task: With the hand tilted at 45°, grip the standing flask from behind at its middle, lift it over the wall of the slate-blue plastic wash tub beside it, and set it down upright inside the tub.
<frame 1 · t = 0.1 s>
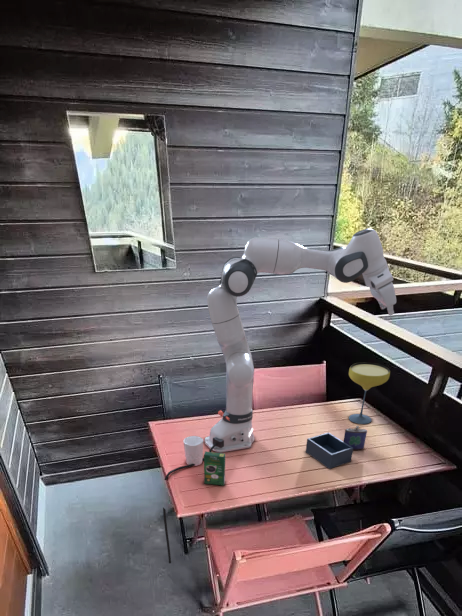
hand: (387, 311, 167), 54 cm above the table, tool tilted 30°, fingers open, 8 cm apart
tub: (327, 456, 186), on the table
flask: (352, 448, 192), on the table
coffee box: (215, 483, 170), on the table
white cup: (194, 462, 182), on the table
cocktail glass: (360, 419, 215), on the table
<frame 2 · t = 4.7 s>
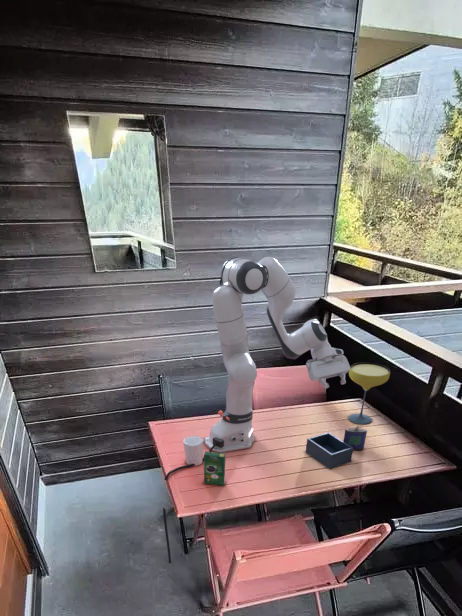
hand: (335, 385, 190), 23 cm above the table, tool tilted 45°, fingers open, 8 cm apart
nothing on the table moved.
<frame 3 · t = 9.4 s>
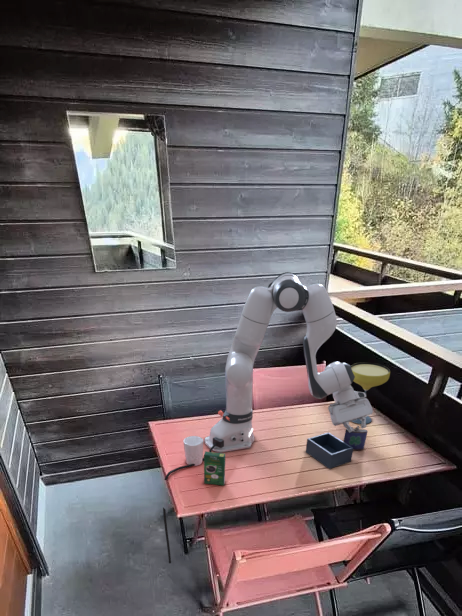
hand: (358, 429, 186), 9 cm above the table, tool tilted 45°, fingers closed on flask, 6 cm apart
flask: (352, 448, 192), on the table, touching gripper
everything else where it was.
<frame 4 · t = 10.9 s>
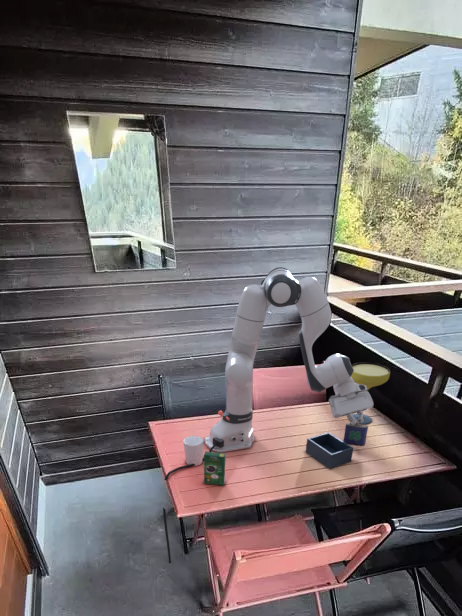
hand: (358, 422, 184), 13 cm above the table, tool tilted 45°, fingers closed on flask, 2 cm apart
flask: (353, 444, 191), point 2 cm above the table, touching gripper
everything else where it was.
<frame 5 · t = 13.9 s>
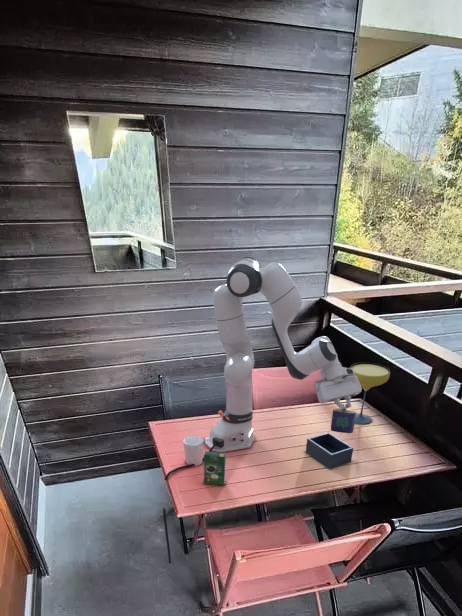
hand: (345, 408, 176), 21 cm above the table, tool tilted 45°, fingers closed on flask
flask: (341, 431, 182), point 10 cm above the table, touching gripper
everything else where it was.
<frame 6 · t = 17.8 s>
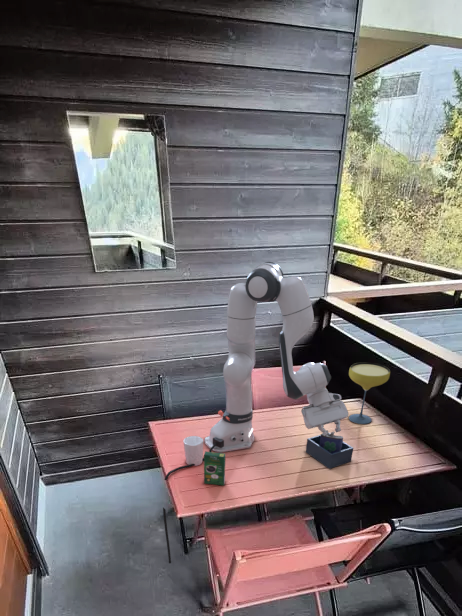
hand: (332, 433, 179), 11 cm above the table, tool tilted 45°, fingers open, 5 cm apart
flask: (329, 455, 186), point 1 cm above the table, touching tub
everything else where it was.
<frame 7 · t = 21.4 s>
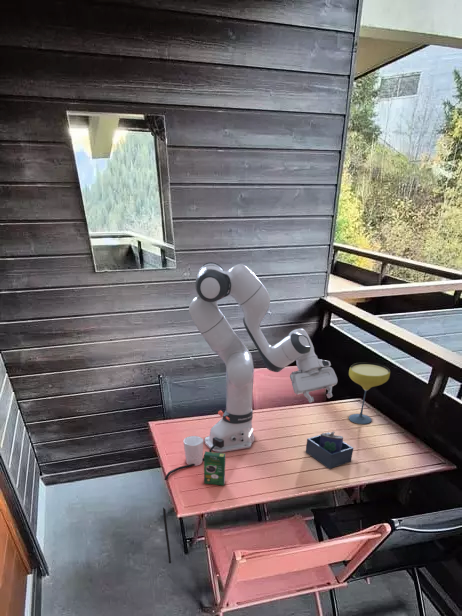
hand: (321, 399, 180), 22 cm above the table, tool tilted 45°, fingers open, 8 cm apart
nothing on the table moved.
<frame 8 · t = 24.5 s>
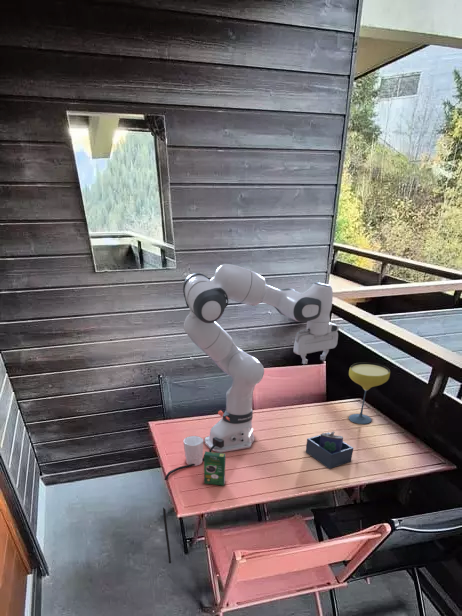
hand: (313, 361, 184), 33 cm above the table, tool pointing down, fingers open, 8 cm apart
nothing on the table moved.
at the end: flask inside the target area in the tub (0.4 cm from its centre), point 0.8 cm above the tub's base; flask tilted 0°; the gripper is holding nothing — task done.
